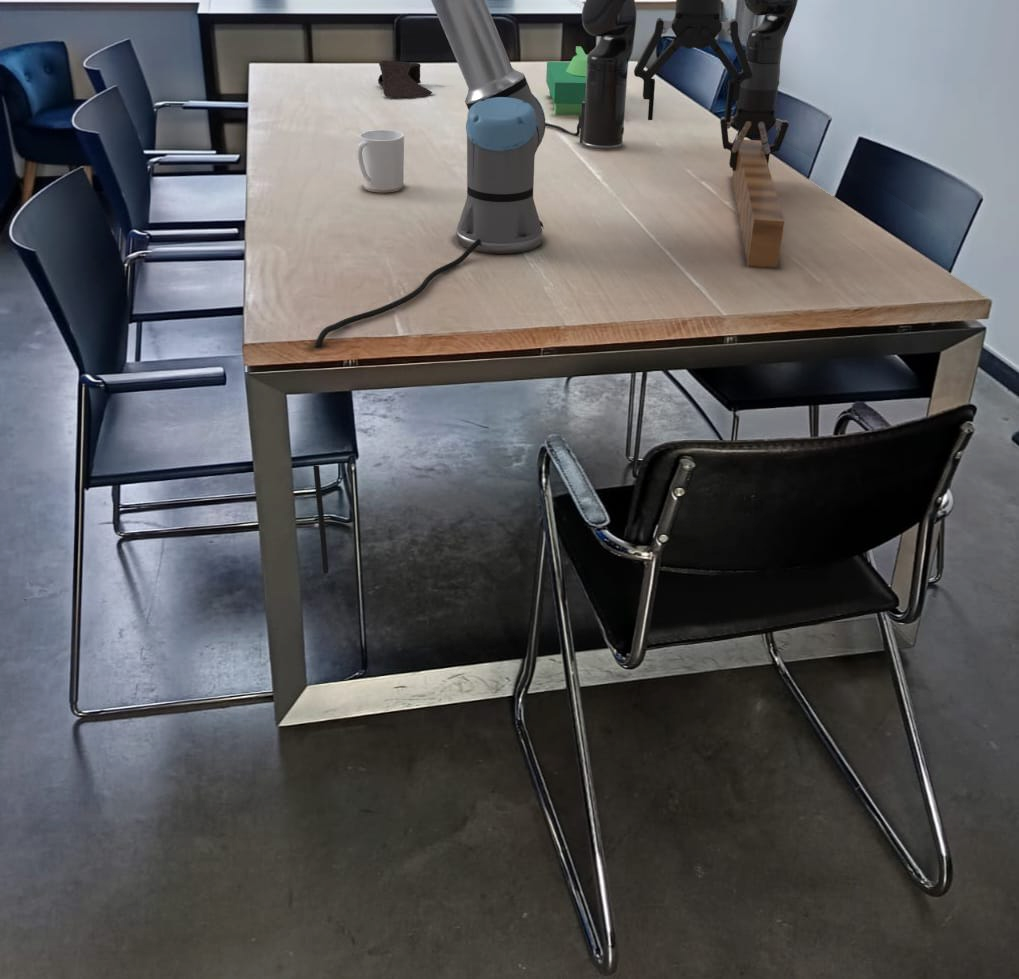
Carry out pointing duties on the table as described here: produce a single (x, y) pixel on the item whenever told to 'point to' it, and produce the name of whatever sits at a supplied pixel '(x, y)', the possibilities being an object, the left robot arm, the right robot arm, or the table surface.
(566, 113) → the green gift box
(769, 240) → the brown wooden bar
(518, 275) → the table surface
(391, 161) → the mug
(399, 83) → the dark brown boot
